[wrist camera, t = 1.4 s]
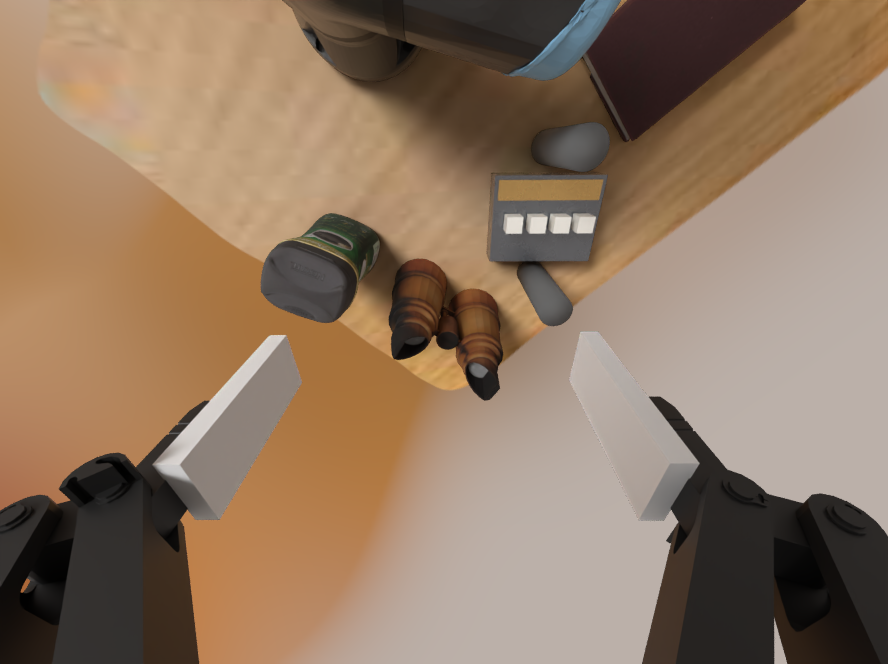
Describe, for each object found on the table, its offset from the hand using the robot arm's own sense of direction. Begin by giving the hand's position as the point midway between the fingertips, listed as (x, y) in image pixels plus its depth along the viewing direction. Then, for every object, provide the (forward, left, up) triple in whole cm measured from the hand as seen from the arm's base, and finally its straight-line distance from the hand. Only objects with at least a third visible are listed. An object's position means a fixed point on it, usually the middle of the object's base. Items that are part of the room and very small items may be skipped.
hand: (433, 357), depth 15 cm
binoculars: (+13, +1, -37) cm, 39 cm away
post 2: (+9, +14, -36) cm, 40 cm away
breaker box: (0, +14, -36) cm, 39 cm away
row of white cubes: (0, +14, -32) cm, 35 cm away
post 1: (-8, +14, -36) cm, 40 cm away
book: (-20, +27, -37) cm, 50 cm away
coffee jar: (+4, -14, -36) cm, 39 cm away
